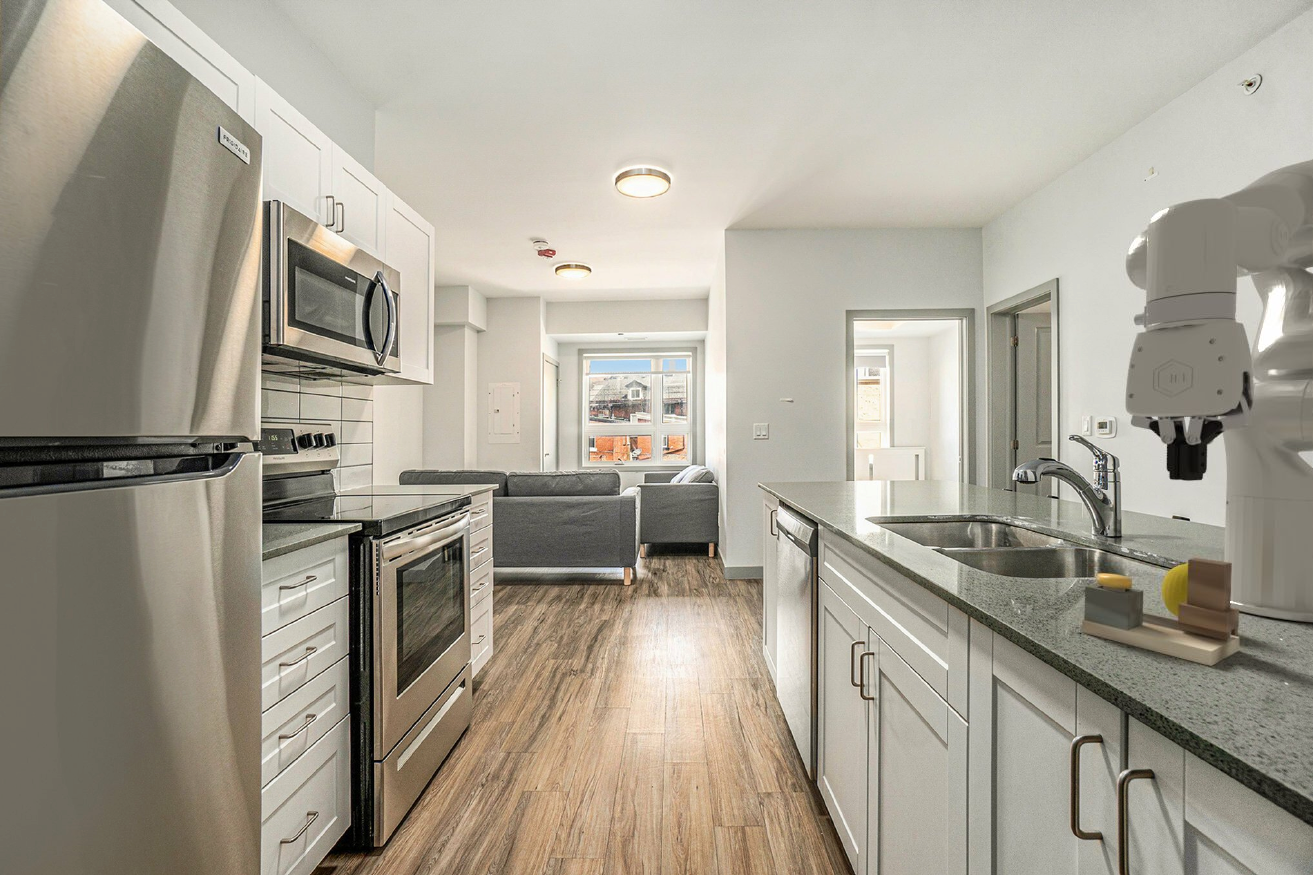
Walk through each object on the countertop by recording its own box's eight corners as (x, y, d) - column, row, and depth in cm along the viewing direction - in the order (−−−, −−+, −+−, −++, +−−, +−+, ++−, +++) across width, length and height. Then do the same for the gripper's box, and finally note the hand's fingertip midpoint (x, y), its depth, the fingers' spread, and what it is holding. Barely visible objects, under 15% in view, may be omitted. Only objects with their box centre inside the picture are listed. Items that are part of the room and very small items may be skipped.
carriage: (1190, 623, 68) (1192, 556, 68) (1238, 634, 64) (1240, 563, 64) (1177, 629, 66) (1179, 559, 66) (1226, 640, 62) (1228, 566, 62)
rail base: (1114, 621, 74) (1115, 577, 74) (1239, 650, 65) (1240, 600, 65) (1081, 632, 70) (1083, 586, 70) (1211, 665, 60) (1212, 612, 60)
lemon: (1232, 635, 70) (1235, 568, 70) (1179, 630, 71) (1181, 565, 71) (1200, 620, 75) (1202, 558, 75) (1150, 617, 76) (1152, 555, 76)
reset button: (1103, 613, 71) (1104, 572, 71) (1135, 621, 68) (1136, 578, 68) (1091, 617, 69) (1092, 575, 69) (1123, 625, 67) (1125, 581, 66)
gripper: (1096, 325, 71) (1093, 475, 72) (1258, 300, 57) (1254, 487, 58) (1135, 329, 74) (1132, 474, 74) (1299, 306, 60) (1295, 484, 61)
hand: (1186, 479), depth 66 cm, fingers closed
